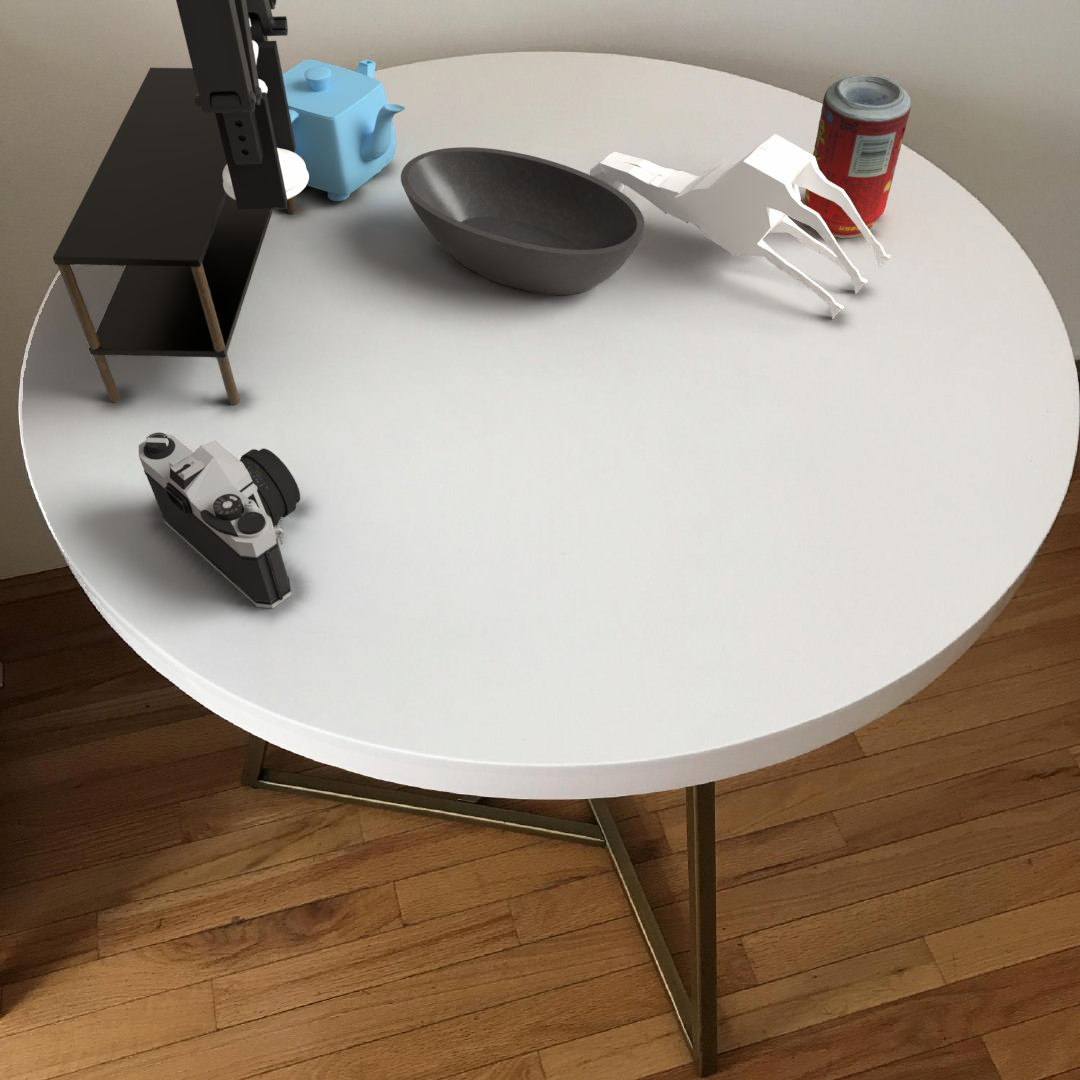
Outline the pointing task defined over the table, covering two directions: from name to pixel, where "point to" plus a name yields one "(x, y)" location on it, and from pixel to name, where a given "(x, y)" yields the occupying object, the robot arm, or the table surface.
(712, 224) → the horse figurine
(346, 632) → the table surface
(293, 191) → the chess piece
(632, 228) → the bowl
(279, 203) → the robot arm
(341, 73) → the teapot
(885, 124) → the soda can
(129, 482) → the table surface
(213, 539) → the camera
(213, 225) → the rack
